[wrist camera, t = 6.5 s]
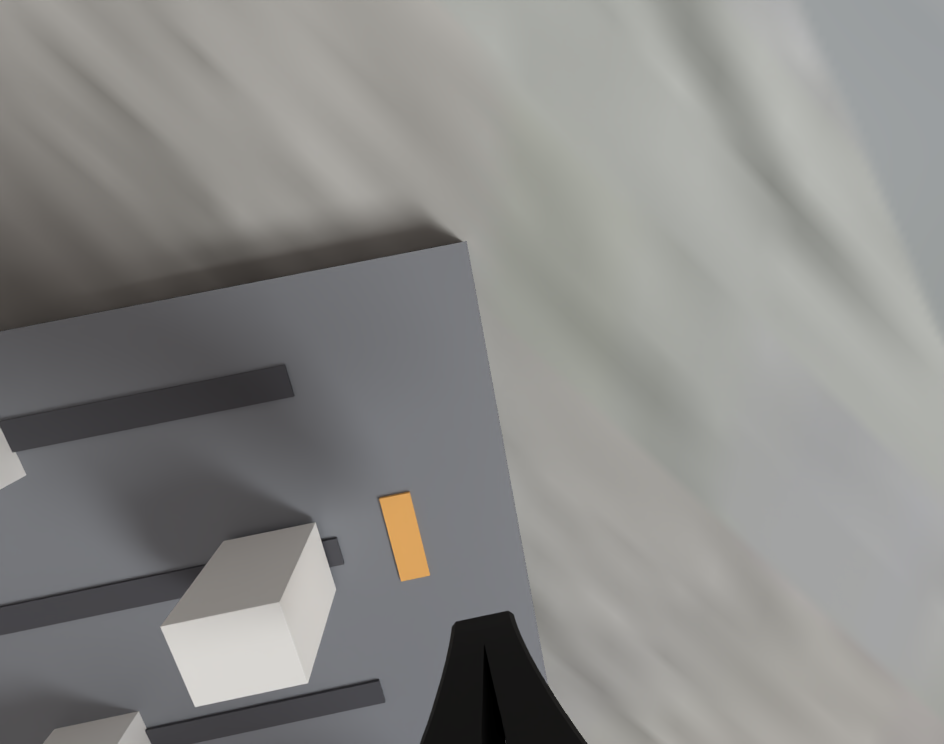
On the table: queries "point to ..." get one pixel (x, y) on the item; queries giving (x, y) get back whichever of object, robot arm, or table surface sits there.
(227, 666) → the handle
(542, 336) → the table surface
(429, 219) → the table surface
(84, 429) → the breaker panel
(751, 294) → the table surface
